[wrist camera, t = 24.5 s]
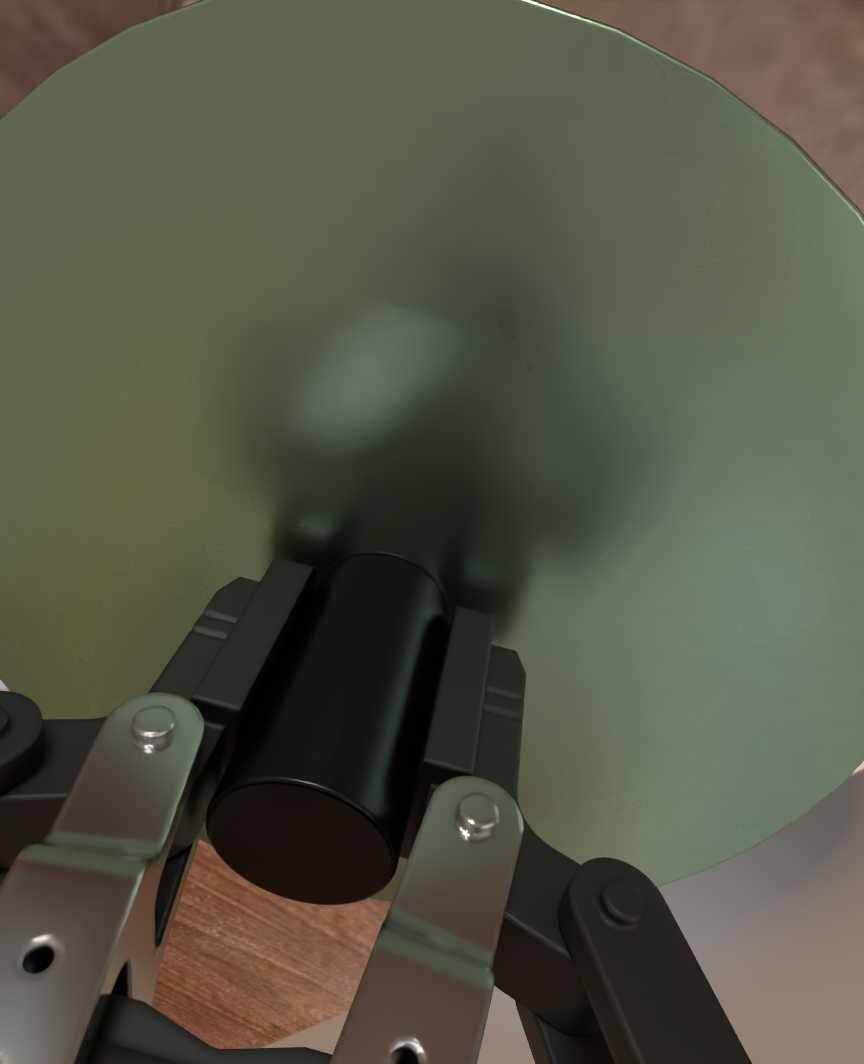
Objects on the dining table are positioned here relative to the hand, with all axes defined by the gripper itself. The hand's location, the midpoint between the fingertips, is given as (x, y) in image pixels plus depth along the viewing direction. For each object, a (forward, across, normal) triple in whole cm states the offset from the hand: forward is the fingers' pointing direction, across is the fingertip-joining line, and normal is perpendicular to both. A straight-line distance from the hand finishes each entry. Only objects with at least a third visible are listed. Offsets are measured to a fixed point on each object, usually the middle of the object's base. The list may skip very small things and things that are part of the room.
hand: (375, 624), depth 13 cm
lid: (+1, 0, 0) cm, 1 cm away
